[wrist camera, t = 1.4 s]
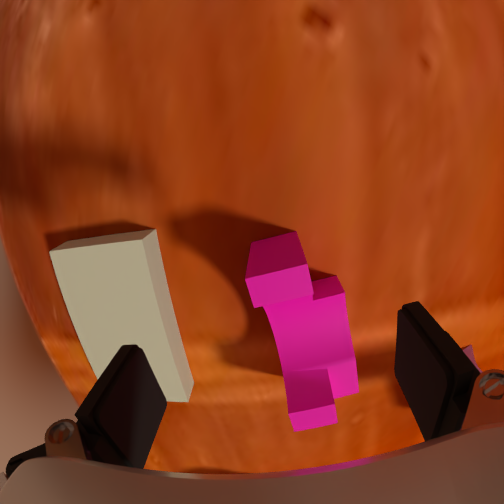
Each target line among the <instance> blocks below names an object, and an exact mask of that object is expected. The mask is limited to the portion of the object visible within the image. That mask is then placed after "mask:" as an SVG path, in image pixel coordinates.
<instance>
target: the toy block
mask: <svg viewBox="0 0 504 504" xmlns="http://www.w3.org/2000/svg"><path fill="white" fill-rule="evenodd" d="M245 281H246V284H247V287H248V290H249V293H250V297H251V300H252V303H253V306H254V308H257V307H261V306H263V308H264V310H265V312H266V314H267V316H268V319H269V322H270V325H271V328H272V331H273V334H274V338H275V341H276V345H277V349H278V353H279V357H280V362H281V367H282V371H283V377H284V383H285V389H286V396H287V404H288V414H289V417H290V420H291V423H292V426H293V429H294V432H295V431H301V430H306V429H311V428H316V427H321V426H326V425H330V424H334V423H338V422H337V415H336V409H335V403H334V399H335V398H339V397H343V396H347V395H351V394H354V393H358V392H359V388H358V377H357V366H356V359H355V355H354V350H353V345H352V340H351V335H350V329H349V323H348V317H347V310H346V301H345V292H344V290H343V288H342V286H341V284H340V282H339V280H338V278H337V276H332V277H328V278H324V279H320V280H316V281H312V282H311V278H310V273H309V269H308V264H307V261H306V258H305V255H304V252H303V249H302V246H301V243H300V240H299V238H298V235H297V232H296V231H295V232H291V233H287V234H283V235H279V236H275V237H271V238H267V239H263V240H259V241H255V242H251V247H250V253H249V258H248V264H247V270H246V276H245Z"/></svg>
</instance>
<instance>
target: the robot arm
mask: <svg viewBox="0 0 504 504" xmlns="http://www.w3.org/2000/svg"><path fill="white" fill-rule="evenodd" d="M394 370H395V376H396V378H397V380H398V383H399V385H400V387H401V389H402V391H403V393H404V395H405V397H406V399H407V402H408V404H409V406H410V408H411V410H412V412H413V415H414V417H415V419H416V421H417V424H418V426H419V428H420V430H421V433H422V435H423V437H424V440H425V442H422V443H419V444H416V445H413V446H409V447H406V448H402V449H399V450H395V451H392V452H388V453H384V454H380V455H376V456H372V457H368V458H363V459H359V460H354V461H349V462H344V463H339V464H334V465H328V466H321V467H315V468H307V469H299V470H291V471H281V472H268V473H251V474H196V473H178V472H166V471H156V470H147V469H143V468H144V465H145V463H146V460H147V457H148V454H149V452H150V449H151V446H152V444H153V441H154V438H155V436H156V433H157V430H158V428H159V425H160V422H161V420H162V417H163V414H164V412H165V409H166V406H167V401H166V397H165V395H164V393H163V391H162V389H161V387H160V385H159V383H158V381H157V379H156V377H155V375H154V373H153V371H152V368H151V366H150V364H149V362H148V360H147V357H146V355H145V353H144V351H143V349H142V348H139V346H138V345H136V344H131V345H122V346H121V347H120V349H119V350H118V351H117V353H116V354H115V356H114V357H113V358H112V360H111V361H110V363H109V364H108V366H107V367H106V369H105V370H104V371H103V373H102V374H101V376H100V377H99V379H98V380H97V382H96V383H95V385H94V386H93V388H92V389H91V391H90V392H89V394H88V395H87V397H86V398H85V400H84V401H83V403H82V404H81V406H80V407H79V409H78V410H77V412H76V413H75V416H76V417H77V419H78V421H77V422H76V423H75V422H74V421H73V420H70V419H62V420H59V421H57V422H55V423H53V424H52V425H51V426H50V427H49V428H48V429H47V431H46V433H45V443H44V444H42V445H40V446H37V447H35V448H33V449H31V450H28V451H26V452H23V453H21V454H18V455H16V456H14V457H12V458H11V459H10V460H9V462H8V464H7V467H6V474H5V473H4V472H2V473H0V504H504V371H503V370H499V369H491V370H487V371H484V372H482V373H480V372H479V371H478V369H477V368H476V367H475V365H474V364H473V363H472V362H471V360H470V359H469V358H468V357H467V355H466V354H465V353H464V352H463V350H462V349H461V348H460V347H459V346H458V344H457V343H456V342H455V341H454V340H453V338H452V337H451V336H450V335H449V334H448V333H447V332H446V331H444V330H443V329H442V328H441V326H440V325H439V324H438V323H437V322H436V321H435V319H434V318H433V317H432V316H431V315H430V314H429V313H428V311H427V310H426V309H425V308H424V307H423V306H422V305H421V304H420V302H418V301H416V302H412V303H408V304H404V305H403V306H402V309H400V310H398V317H397V339H396V355H395V367H394Z"/></svg>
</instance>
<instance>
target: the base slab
mask: <svg viewBox="0 0 504 504" xmlns="http://www.w3.org/2000/svg"><path fill="white" fill-rule="evenodd" d="M49 252H50V256H51V260H52V263H53V267H54V270H55V273H56V276H57V280H58V283H59V286H60V289H61V292H62V295H63V298H64V301H65V303H66V306H67V309H68V312H69V314H70V317H71V320H72V322H73V325H74V327H75V330H76V332H77V335H78V337H79V340H80V342H81V344H82V347H83V349H84V351H85V353H86V356H87V358H88V360H89V362H90V364H91V366H92V369H93V371H94V373H95V375H96V377H97V379H99V377H100V376H101V374H102V373H103V371H104V370H105V369H106V367H107V366H108V364H109V363H110V361H111V360H112V358H113V357H114V356H115V354H116V353H117V351H118V350H119V349H120V347H121V346H122V345H131V344H136V345H138V346H139V348H142V349H143V351H144V353H145V355H146V357H147V360H148V362H149V364H150V366H151V368H152V371H153V373H154V375H155V377H156V379H157V381H158V383H159V385H160V387H161V389H162V391H163V393H164V395H165V397H166V401H175V402H188V401H189V398H190V395H191V391H192V388H193V384H194V381H193V378H192V374H191V371H190V368H189V364H188V361H187V358H186V354H185V351H184V347H183V343H182V340H181V336H180V332H179V329H178V325H177V321H176V317H175V313H174V309H173V305H172V301H171V297H170V293H169V289H168V285H167V280H166V276H165V271H164V267H163V262H162V258H161V253H160V248H159V243H158V238H157V233H156V229H151V230H143V231H135V232H128V233H120V234H113V235H106V236H98V237H91V238H85V239H78V240H71V241H66V242H65V243H63V244H61V245H59V246H58V247H56V248H54V249H52V250H51V251H49Z"/></svg>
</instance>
